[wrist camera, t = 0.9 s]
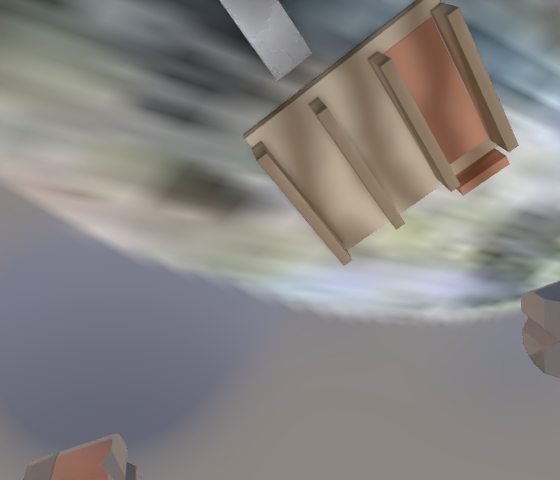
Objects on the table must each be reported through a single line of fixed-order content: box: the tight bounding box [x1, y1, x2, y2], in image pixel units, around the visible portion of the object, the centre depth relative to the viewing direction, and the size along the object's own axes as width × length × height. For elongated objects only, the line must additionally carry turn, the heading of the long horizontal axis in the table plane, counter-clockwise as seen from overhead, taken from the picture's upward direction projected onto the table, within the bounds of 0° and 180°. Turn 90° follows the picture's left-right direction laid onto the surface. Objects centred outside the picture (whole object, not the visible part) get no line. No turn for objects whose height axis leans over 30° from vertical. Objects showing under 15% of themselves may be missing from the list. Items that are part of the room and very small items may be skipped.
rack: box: [243, 0, 519, 265], centre depth 44 cm, size 19×17×4 cm
